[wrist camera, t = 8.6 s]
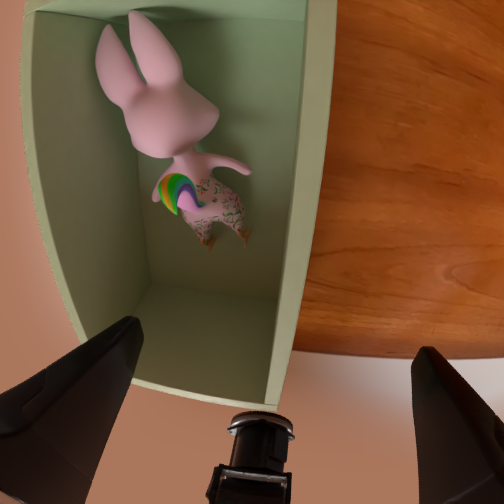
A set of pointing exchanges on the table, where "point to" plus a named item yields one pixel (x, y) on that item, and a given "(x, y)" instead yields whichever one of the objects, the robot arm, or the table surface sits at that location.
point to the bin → (165, 221)
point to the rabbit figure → (170, 126)
